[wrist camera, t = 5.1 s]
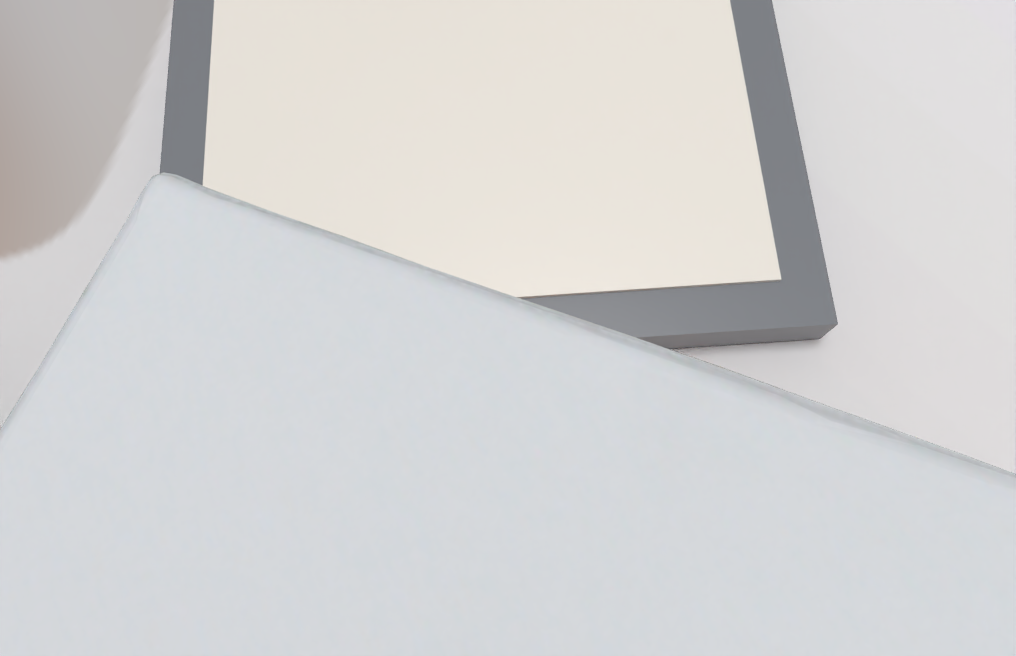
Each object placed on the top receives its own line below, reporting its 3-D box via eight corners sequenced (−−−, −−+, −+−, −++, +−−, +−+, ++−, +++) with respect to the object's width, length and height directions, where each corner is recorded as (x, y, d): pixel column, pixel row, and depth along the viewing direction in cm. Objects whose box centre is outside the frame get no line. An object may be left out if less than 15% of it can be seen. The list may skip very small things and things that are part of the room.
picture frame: (165, 382, 17) (141, 369, 16) (193, -2, 20) (174, -35, 19) (820, 338, 17) (839, 322, 16) (746, -39, 20) (758, -73, 19)
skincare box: (691, 562, 15) (1176, 512, 4) (620, 790, 14) (1019, 1646, 3) (409, 449, 16) (141, 136, 5) (319, 656, 15) (-327, 898, 4)
